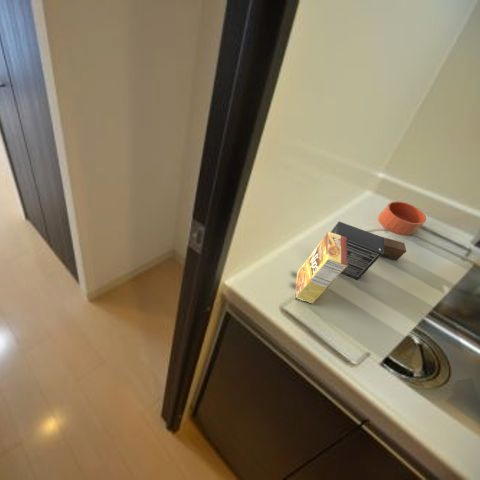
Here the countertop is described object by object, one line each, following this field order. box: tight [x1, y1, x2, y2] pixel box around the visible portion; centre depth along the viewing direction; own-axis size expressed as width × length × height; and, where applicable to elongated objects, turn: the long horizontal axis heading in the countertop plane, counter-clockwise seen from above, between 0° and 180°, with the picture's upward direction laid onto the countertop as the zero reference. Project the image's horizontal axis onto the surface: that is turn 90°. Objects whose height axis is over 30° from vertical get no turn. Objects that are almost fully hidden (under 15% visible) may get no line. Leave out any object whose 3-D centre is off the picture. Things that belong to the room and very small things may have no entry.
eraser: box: [380, 237, 407, 262], centre depth 86 cm, size 6×3×4 cm, turn 68°
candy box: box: [295, 231, 348, 304], centre depth 74 cm, size 9×4×15 cm, turn 156°
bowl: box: [377, 200, 427, 236], centre depth 94 cm, size 10×10×4 cm
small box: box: [330, 221, 386, 280], centre depth 81 cm, size 11×6×10 cm, turn 58°
